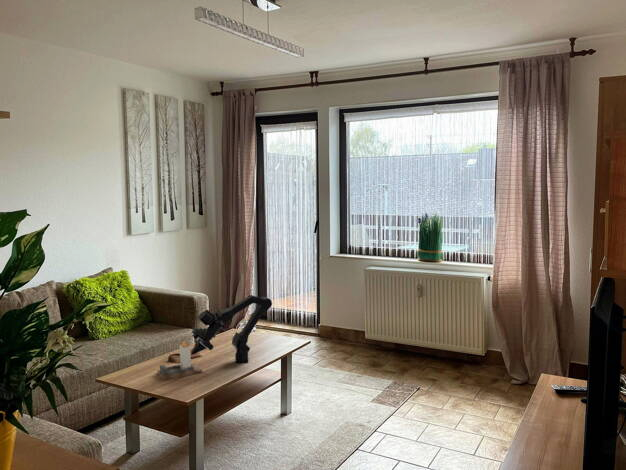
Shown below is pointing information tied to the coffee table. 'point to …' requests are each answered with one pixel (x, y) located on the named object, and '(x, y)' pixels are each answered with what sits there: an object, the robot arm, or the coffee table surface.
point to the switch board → (178, 371)
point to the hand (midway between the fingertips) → (191, 354)
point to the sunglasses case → (176, 357)
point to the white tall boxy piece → (185, 355)
